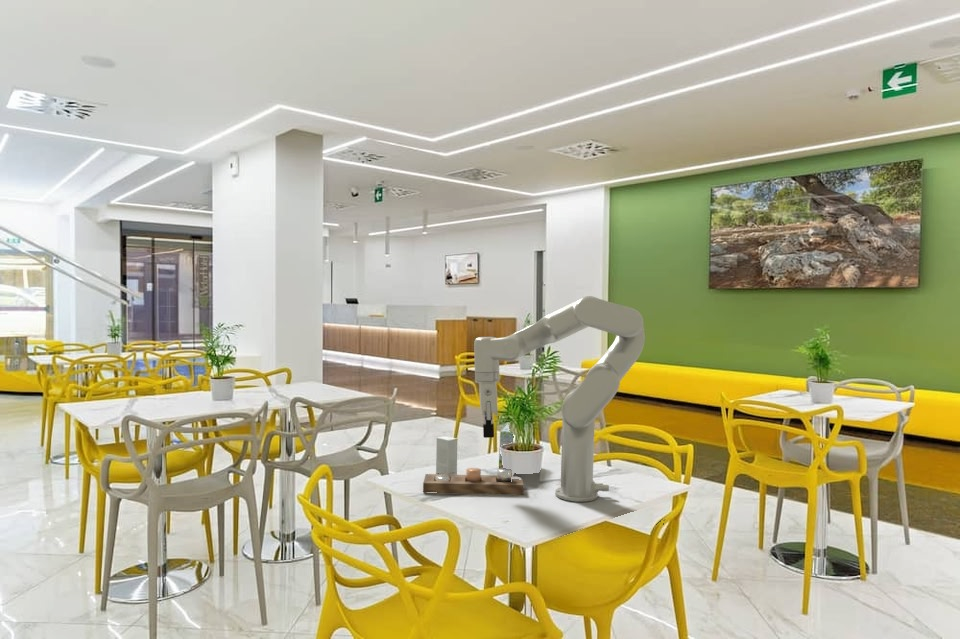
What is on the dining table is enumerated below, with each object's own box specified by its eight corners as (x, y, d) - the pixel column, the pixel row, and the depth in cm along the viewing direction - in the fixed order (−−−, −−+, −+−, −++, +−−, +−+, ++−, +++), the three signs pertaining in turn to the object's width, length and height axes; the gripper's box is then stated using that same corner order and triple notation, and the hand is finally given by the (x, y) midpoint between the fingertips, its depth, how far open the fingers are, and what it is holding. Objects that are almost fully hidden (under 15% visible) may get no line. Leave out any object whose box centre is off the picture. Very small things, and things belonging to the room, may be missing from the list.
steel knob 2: (511, 479, 201) (511, 468, 201) (511, 483, 196) (512, 472, 196) (496, 479, 201) (497, 468, 201) (497, 483, 196) (497, 472, 196)
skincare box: (457, 474, 215) (458, 438, 215) (448, 476, 212) (449, 440, 212) (444, 470, 219) (444, 435, 219) (435, 473, 216) (436, 437, 216)
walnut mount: (520, 485, 204) (521, 475, 204) (523, 494, 194) (523, 484, 194) (425, 483, 204) (425, 474, 203) (423, 492, 194) (423, 483, 193)
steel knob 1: (449, 486, 201) (449, 475, 201) (449, 490, 196) (449, 479, 196) (435, 486, 201) (435, 475, 201) (434, 490, 196) (434, 479, 196)
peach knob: (480, 478, 201) (480, 467, 201) (480, 482, 196) (480, 471, 196) (466, 478, 201) (466, 467, 201) (466, 482, 196) (466, 471, 196)
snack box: (514, 477, 213) (515, 432, 212) (497, 476, 214) (498, 431, 213) (523, 462, 234) (524, 420, 233) (507, 461, 235) (508, 419, 234)
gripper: (500, 379, 190) (502, 441, 191) (498, 374, 205) (499, 431, 206) (475, 380, 190) (476, 442, 190) (474, 375, 205) (476, 432, 205)
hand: (488, 436), depth 198 cm, fingers closed
